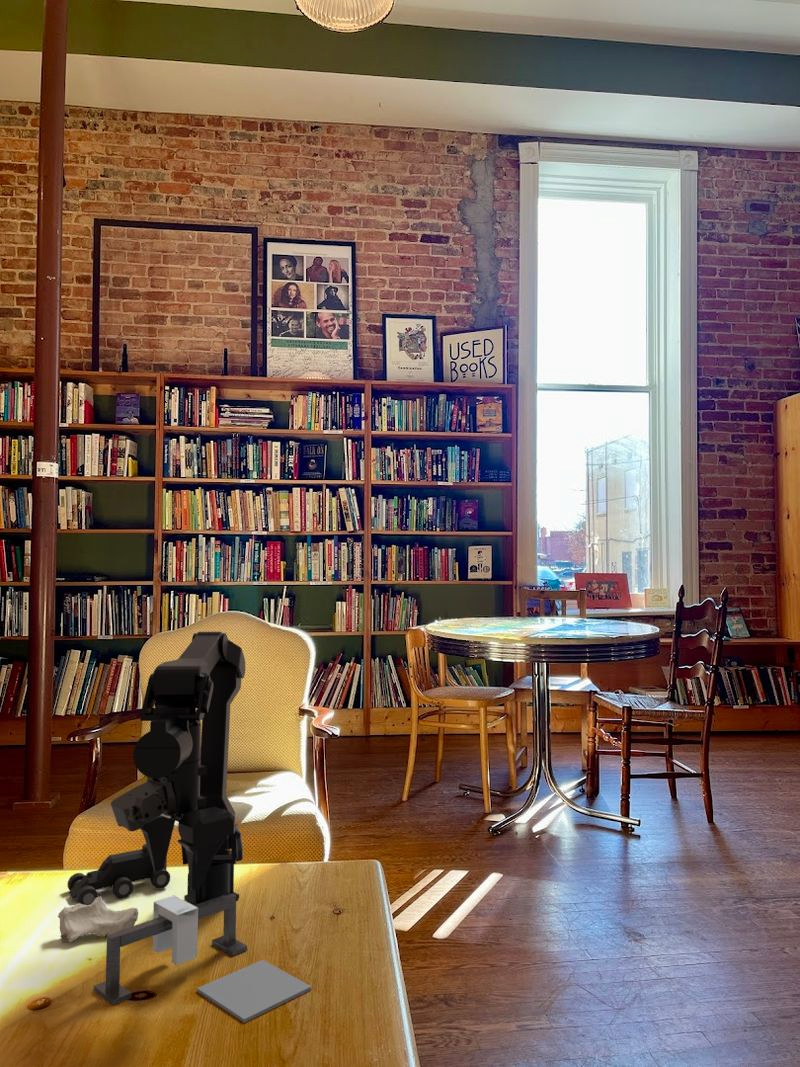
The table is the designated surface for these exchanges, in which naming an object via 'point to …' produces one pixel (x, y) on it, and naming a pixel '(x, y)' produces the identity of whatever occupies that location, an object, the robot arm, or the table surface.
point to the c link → (177, 929)
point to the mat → (253, 990)
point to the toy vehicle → (117, 876)
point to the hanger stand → (227, 942)
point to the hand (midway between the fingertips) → (176, 879)
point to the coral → (94, 920)
